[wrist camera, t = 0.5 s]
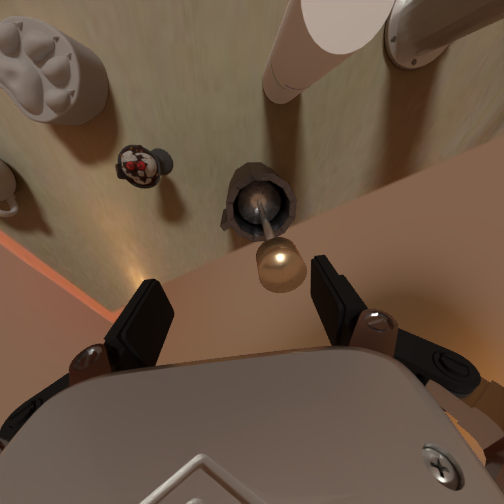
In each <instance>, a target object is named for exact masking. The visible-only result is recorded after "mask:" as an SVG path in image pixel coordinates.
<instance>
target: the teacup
mask: <svg viewBox="0 0 504 504" xmlns="http://www.w3.org/2000/svg"><path fill="white" fill-rule="evenodd" d="M15 189H16V180H15V177H14V175H13V173H12V171H11V170H10V169H9V167H8V166H7V165H6V164H5V163H4V162H3V161H2V160H1V159H0V201H3V200H6V201H7V203H8V204H9V206H10V211H3V210H0V217H12V216H14V215H16V213H17V212H18V205H17V202H16V201H15V198H16V197H15V195H14V194H13V193H14V192H15Z"/></svg>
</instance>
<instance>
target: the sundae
mask: <svg viewBox="0 0 504 504" xmlns="http://www.w3.org/2000/svg"><path fill="white" fill-rule="evenodd" d="M115 167H116V172H117V176H118V178H119V179H126V180H127V181H128V182H129V183H131V184H132V185H133V186H136V187H139V188H151V187H154V186H155V185H156V184H157V183H158V181H159V179H160V174H167V173H169V172H170V171H171V170H172V167H173V161H172V158H171V156H170V155H169V154H168V153H167V152H166V151H165V150H162V149H154V150H152V151H151V152H150V151H149V150H148V149H146V148H144V147H142V146H141V145H128V146H126V147H125V148H123V149H122V150H121V152H120V153H119V155H118V164H116V165H115Z"/></svg>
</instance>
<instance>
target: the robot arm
mask: <svg viewBox="0 0 504 504" xmlns="http://www.w3.org/2000/svg"><path fill="white" fill-rule="evenodd" d="M503 18H504V0H395V1H394V4H393V7H392V9H391V11H390V13H389V15H388V17H387V21H386V27H385V44H386V50H387V53H388V56H389V57H390V59H391V61H392V62H393V63H394V64H395V65H396V66H398V67H399V68H401V69H406V70H411V69H416V68H419V67H422V66H424V65H427V64H428V63H430V62H431V61H433V60H434V59H436V58H437V57H438V56H439V55H440V54H441V53H442V52H443V51H444V50H445V49H446V48H447V47H448V45H449V44H450V43H451V42H453V41H455V40H457V39H460V38H462V37H464V36H466V35H468V34H471V33H473V32H475V31H477V30H479V29H481V28H484V27H486V26H488V25H490V24H492V23H495V22H497V21H499V20H501V19H503ZM311 298H312V299H313V302H314V305H315V307H316V309H317V312H318V314H319V316H320V319H321V321H322V324H323V326H324V328H325V331H326V333H327V336H328V338H329V340H330V343H331V345H332V346H322V347H312V348H301V349H292V350H283V351H274V352H265V353H257V354H248V355H240V356H232V357H223V358H215V359H207V360H199V361H192V362H183V363H176V364H167V365H160V366H155V365H156V362H157V359H158V357H159V354H160V352H161V349H162V346H163V344H164V341H165V339H166V336H167V333H168V331H169V328H170V325H171V323H172V320H173V318H174V310H173V308H172V306H171V304H170V302H169V300H168V298H167V296H166V294H165V292H164V290H163V288H162V286H161V284H160V282H159V281H157V280H156V279H148V280H144V281H143V282H142V284H141V285H140V286H139V288H138V289H137V291H136V292H135V294H134V295H133V297H132V298H131V300H130V301H129V303H128V304H127V305H126V307H125V308H124V310H123V311H122V313H121V314H120V316H119V317H118V319H117V320H116V322H115V323H114V324H113V326H112V327H111V329H110V330H109V332H108V333H107V335H106V336H105V338H104V339H105V343H104V344H95V345H91V346H89V347H87V348H86V349H84V350H83V351H81V352H80V353H79V354H78V355H77V356H76V357H75V358H74V359H73V360H72V362H71V364H70V367H69V373H68V374H66V375H64V376H63V377H62V378H60V379H59V380H57V381H56V382H54V383H53V384H51V385H50V386H49V387H47V388H45V389H44V390H42V391H41V392H39V393H38V394H36V395H35V396H33V397H32V398H30V399H29V400H28V401H26V402H25V403H23V404H22V405H21V406H19V407H18V408H17V409H16V410H15V411H14V412H13V413H12V414H11V415H10V416H9V417H8V418H7V420H6V421H5V422H4V424H3V426H2V427H1V430H0V504H504V387H502V386H501V385H499V384H498V383H496V382H494V381H491V382H488V381H487V380H485V379H484V378H482V377H481V376H480V374H479V372H478V370H477V369H476V368H475V366H474V365H473V364H472V363H471V362H470V361H468V360H467V359H465V358H464V357H463V356H461V355H459V354H457V353H455V352H453V351H451V350H449V349H446V348H444V347H441V346H439V345H436V344H434V343H432V342H430V341H427V340H425V339H423V338H420V337H418V336H416V335H413V334H411V333H409V332H406V331H404V330H402V329H399V328H398V324H397V322H396V320H395V319H394V318H393V317H392V316H391V315H390V314H388V313H386V312H384V311H382V310H378V309H368V308H367V307H366V305H365V304H364V302H363V301H362V299H361V298H360V297H359V295H358V294H357V293H356V291H355V290H354V288H353V287H352V286H351V284H350V283H349V282H348V280H347V279H346V277H345V276H344V275H338V273H337V272H336V270H335V269H334V267H333V266H332V264H331V263H330V262H329V260H328V259H327V257H326V256H325V255H319V256H315V257H314V259H312V260H311ZM444 411H446V412H448V413H449V414H450V415H452V416H453V417H454V418H455V419H457V420H458V422H457V423H458V424H459V425H460V426H461V427H462V428H464V429H465V430H466V431H467V432H468V433H470V435H471V436H473V438H475V439H476V441H477V442H478V443H479V445H480V446H481V448H482V449H483V451H484V454H485V457H486V464H485V467H484V466H483V464H482V463H481V461H480V460H479V459H478V457H477V456H476V454H475V453H474V451H473V450H472V449H471V447H470V446H469V444H468V443H467V442H466V440H465V439H464V438H463V436H462V435H461V434H460V432H459V431H458V429H457V428H456V427H455V425H454V424H453V422H452V421H451V420H450V418H449V417H448V416H447V414H446V413H445V412H444ZM422 449H423V450H422Z"/></svg>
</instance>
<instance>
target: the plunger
mask: <svg viewBox="0 0 504 504" xmlns="http://www.w3.org/2000/svg"><path fill="white" fill-rule="evenodd" d="M280 205H281V198H280V195H279V192H278V191H277V189H276V188H275V187H274V186H273V185H272V184H271V183H269V182H266V181H253V182H251V183H250V184H248V185H246V186H245V187H244V188H243V189H242V190H241V192H240V194H239V196H238V209H239V212H240V214H241V216H242V217H243V218H244V219H245V220H247V221H248V222H250V223H253V224H262V225H263V229H264V232H265V236H266V239H267V241H265V242H264V243H262V245H261V246H260V247H259V248H258V250H257V254H256V261H257V267H258V273H259V279H260V282H261V284H262V285H263V287H264V288H266V289H267V290H269V291H271V292H276V293H285V292H289V291H292V290H294V289H295V288H297V287H298V286H300V285H301V284H302V283H303V281H304V279H305V277H306V274H307V268H306V265H305V263H304V261H303V259H302V257H301V255H300V254H299V252H298V250H297V248H296V246H295V245H294V244H293V242H292V241H290V240H288V239H286V238H282V237H275V235H274V233H273V230H272V228H271V225H270V222H269V221H270V220H272V219H273V218H274V217H275V216H276V215H277V213H278V212H279V209H280Z"/></svg>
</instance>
